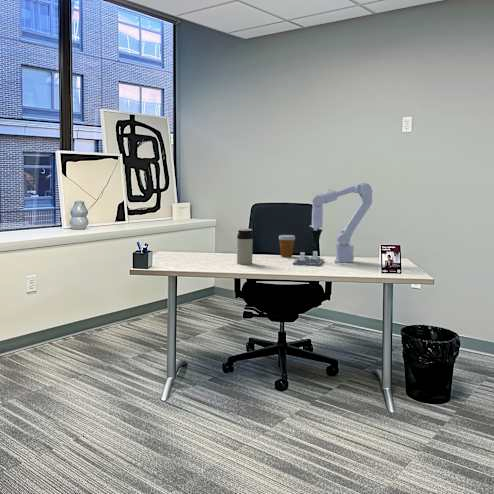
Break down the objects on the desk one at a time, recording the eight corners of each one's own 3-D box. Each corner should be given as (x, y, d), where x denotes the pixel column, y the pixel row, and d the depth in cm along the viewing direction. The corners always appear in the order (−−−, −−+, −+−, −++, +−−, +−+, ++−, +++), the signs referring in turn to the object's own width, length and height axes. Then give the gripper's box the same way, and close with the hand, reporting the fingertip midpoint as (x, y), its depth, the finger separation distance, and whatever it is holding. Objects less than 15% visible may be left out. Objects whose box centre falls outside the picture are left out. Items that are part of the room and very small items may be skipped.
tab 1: (305, 260, 297) (305, 252, 296) (304, 261, 293) (304, 253, 292) (300, 260, 297) (300, 252, 297) (299, 261, 294) (299, 253, 293)
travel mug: (250, 265, 289) (251, 230, 286) (235, 264, 290) (235, 229, 288) (253, 262, 296) (254, 228, 294) (238, 262, 298) (239, 228, 296)
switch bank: (323, 261, 305) (323, 256, 304) (320, 266, 287) (320, 261, 287) (297, 259, 308) (298, 255, 308) (292, 264, 291) (293, 260, 290)
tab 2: (317, 259, 301) (317, 251, 301) (316, 260, 297) (317, 252, 297) (313, 258, 302) (313, 251, 301) (312, 260, 298) (312, 252, 297)
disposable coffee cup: (274, 256, 320) (275, 235, 319) (287, 255, 326) (287, 234, 324) (285, 258, 313) (286, 237, 311) (298, 257, 318) (298, 236, 317)
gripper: (311, 216, 310) (310, 240, 312) (308, 218, 296) (307, 243, 298) (324, 216, 308) (323, 241, 310) (321, 218, 294) (320, 244, 296)
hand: (316, 242), depth 304 cm, fingers closed
